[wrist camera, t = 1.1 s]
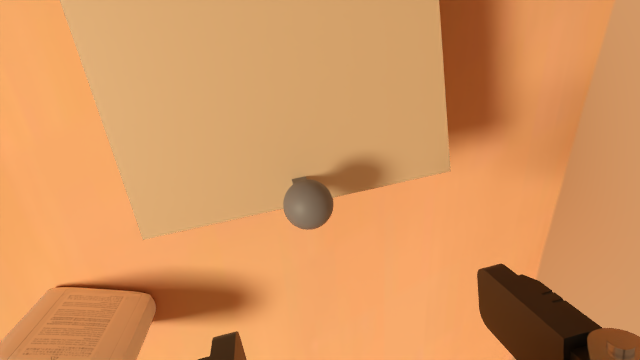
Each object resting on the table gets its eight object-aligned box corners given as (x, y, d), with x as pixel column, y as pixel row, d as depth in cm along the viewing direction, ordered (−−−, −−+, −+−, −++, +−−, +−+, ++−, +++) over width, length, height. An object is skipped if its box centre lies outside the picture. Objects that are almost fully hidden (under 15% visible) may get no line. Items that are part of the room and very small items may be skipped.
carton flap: (60, -15, 22) (-12, -45, 16) (428, -69, 25) (486, -113, 19) (146, 235, 27) (116, 283, 21) (445, 168, 30) (495, 195, 24)
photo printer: (44, 320, 38) (-47, 434, 26) (44, 282, 37) (-51, 382, 25) (155, 325, 40) (116, 431, 29) (158, 288, 39) (119, 383, 27)
